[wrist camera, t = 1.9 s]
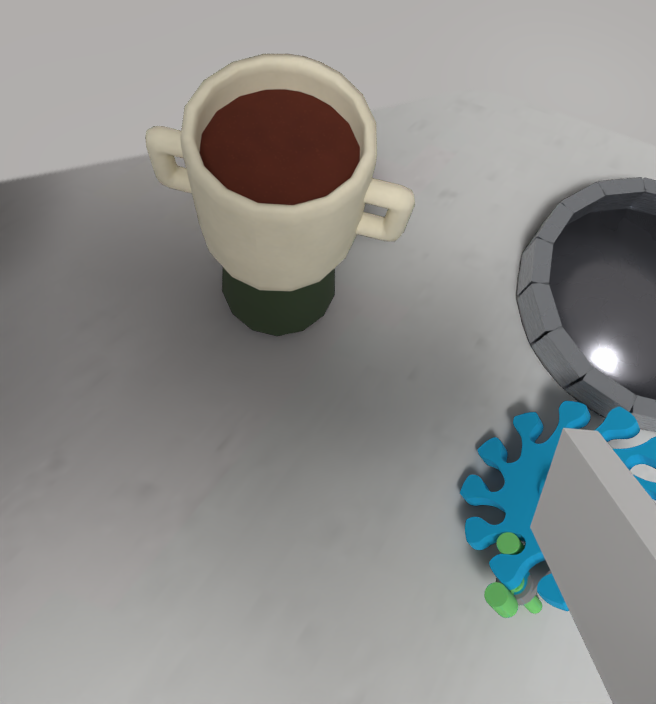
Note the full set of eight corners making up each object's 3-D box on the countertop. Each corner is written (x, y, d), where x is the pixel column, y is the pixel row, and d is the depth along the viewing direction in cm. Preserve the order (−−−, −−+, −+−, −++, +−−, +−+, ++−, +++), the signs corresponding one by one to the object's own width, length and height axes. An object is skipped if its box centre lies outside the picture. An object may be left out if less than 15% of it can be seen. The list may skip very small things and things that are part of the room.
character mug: (383, 257, 33) (446, 89, 21) (359, 368, 31) (413, 251, 19) (204, 213, 33) (163, 19, 21) (166, 321, 31) (94, 173, 19)
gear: (537, 367, 30) (744, 449, 22) (568, 428, 34) (758, 518, 26) (402, 526, 28) (574, 679, 20) (449, 574, 32) (613, 720, 24)
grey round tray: (502, 394, 31) (518, 384, 29) (531, 175, 36) (546, 152, 34) (765, 460, 31) (799, 454, 29) (757, 232, 36) (786, 213, 34)
